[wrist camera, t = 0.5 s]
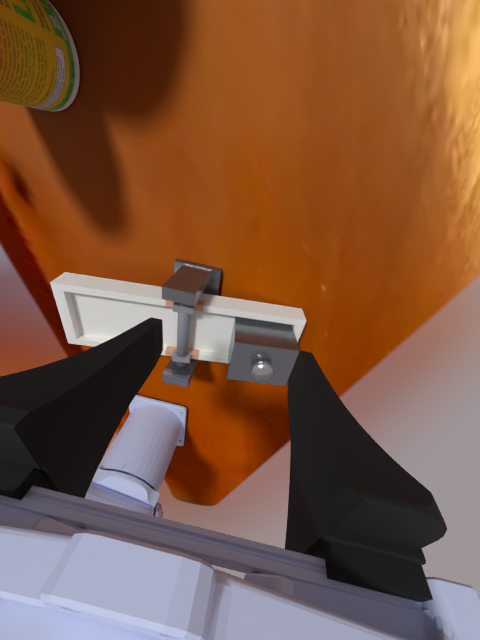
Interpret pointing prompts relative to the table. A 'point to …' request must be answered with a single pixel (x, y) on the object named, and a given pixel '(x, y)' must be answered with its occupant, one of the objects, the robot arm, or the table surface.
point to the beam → (158, 316)
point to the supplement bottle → (36, 56)
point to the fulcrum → (188, 290)
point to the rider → (261, 351)
